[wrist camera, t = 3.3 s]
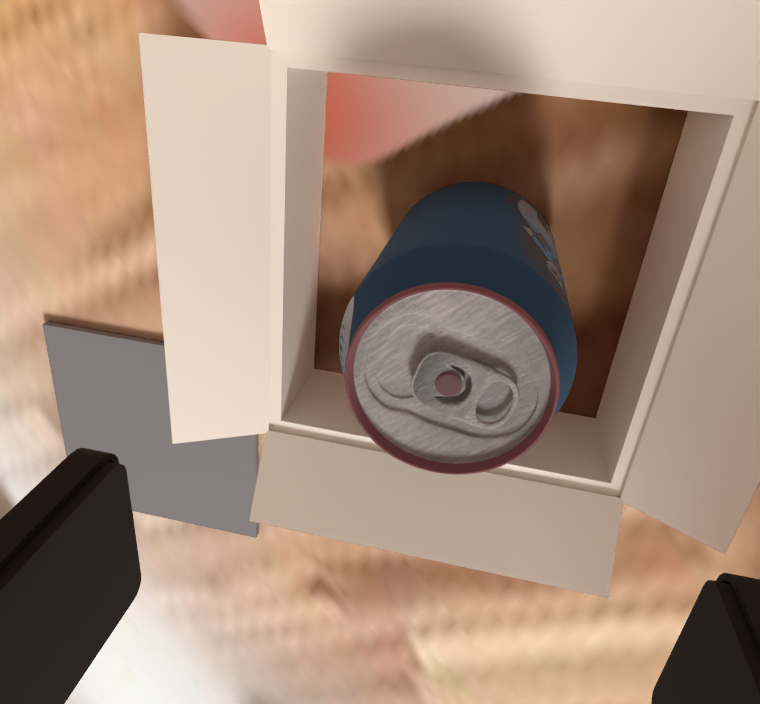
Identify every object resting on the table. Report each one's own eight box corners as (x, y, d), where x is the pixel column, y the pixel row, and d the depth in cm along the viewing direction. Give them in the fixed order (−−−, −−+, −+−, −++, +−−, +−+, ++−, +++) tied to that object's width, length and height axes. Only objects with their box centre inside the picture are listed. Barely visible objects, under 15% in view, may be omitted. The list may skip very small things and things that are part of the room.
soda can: (375, 295, 28) (293, 437, 18) (428, 150, 25) (368, 218, 14) (512, 350, 28) (513, 527, 18) (584, 212, 25) (638, 327, 14)
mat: (258, 358, 31) (255, 362, 31) (258, 533, 36) (256, 537, 36) (47, 321, 33) (42, 324, 32) (78, 493, 38) (74, 498, 38)
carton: (862, -18, 20) (1026, -52, 14) (659, 503, 30) (699, 622, 24) (227, -68, 23) (118, -115, 17) (237, 422, 33) (172, 508, 27)
